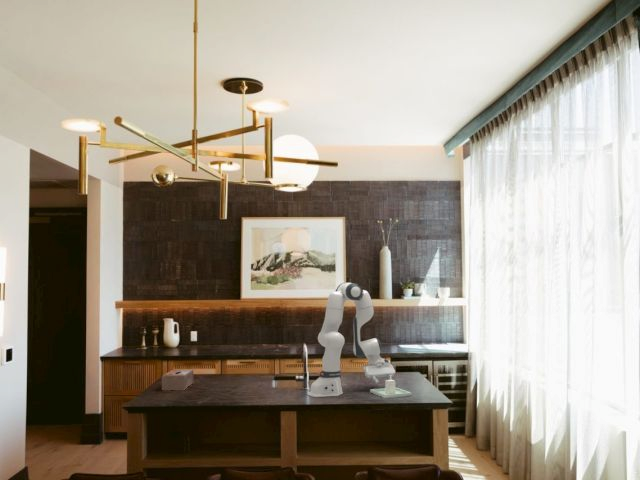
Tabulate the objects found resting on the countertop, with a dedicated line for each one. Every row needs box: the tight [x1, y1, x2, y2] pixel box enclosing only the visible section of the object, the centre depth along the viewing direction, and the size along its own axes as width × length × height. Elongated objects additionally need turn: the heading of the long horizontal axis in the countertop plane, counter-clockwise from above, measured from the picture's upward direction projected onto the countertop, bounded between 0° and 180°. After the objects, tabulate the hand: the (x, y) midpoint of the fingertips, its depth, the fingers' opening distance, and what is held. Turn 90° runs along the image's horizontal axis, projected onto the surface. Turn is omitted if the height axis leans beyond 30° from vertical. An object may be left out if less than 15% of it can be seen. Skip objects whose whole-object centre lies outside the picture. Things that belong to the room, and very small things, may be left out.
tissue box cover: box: [161, 369, 194, 391], centre depth 398 cm, size 26×14×10 cm, turn 179°
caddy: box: [384, 379, 397, 394], centre depth 367 cm, size 5×5×8 cm
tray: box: [369, 387, 413, 399], centre depth 367 cm, size 18×20×2 cm
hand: (384, 381), depth 375 cm, fingers open, 8 cm apart
